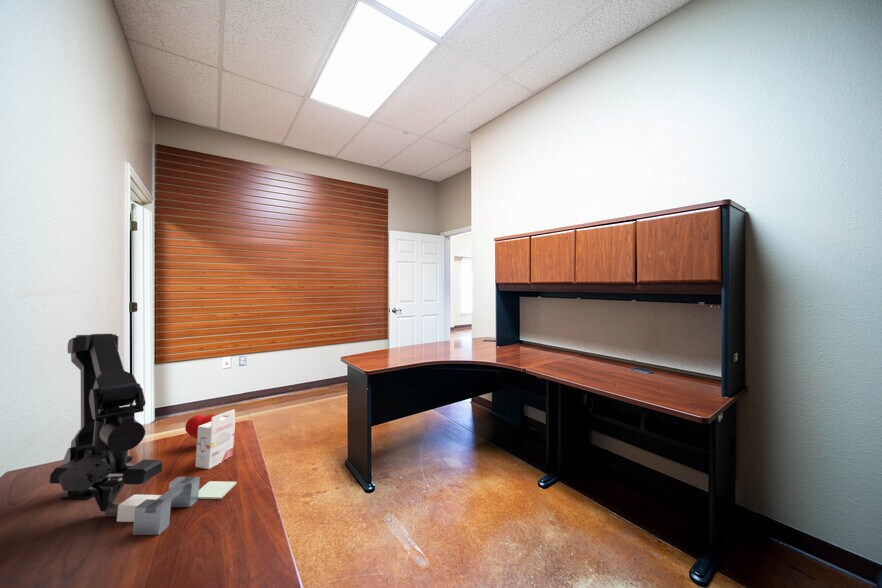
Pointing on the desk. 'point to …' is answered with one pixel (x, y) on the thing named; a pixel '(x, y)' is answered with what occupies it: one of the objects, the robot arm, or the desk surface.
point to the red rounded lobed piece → (197, 424)
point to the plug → (127, 507)
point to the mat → (215, 489)
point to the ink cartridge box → (215, 440)
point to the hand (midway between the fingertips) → (105, 510)
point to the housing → (165, 506)
